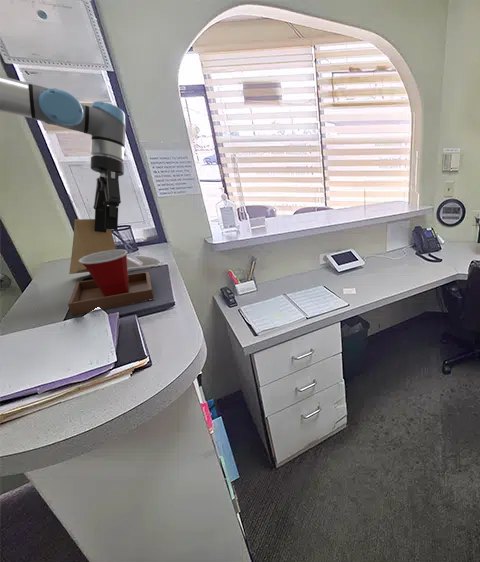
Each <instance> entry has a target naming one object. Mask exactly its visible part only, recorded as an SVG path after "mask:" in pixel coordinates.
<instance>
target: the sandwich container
mask: <svg viewBox="0 0 480 562" xmlns="http://www.w3.org/2000/svg"><path fill="white" fill-rule="evenodd" d="M73 226H74V227H73V239H72V248H71V256H70V257H71V258H70V264H69V266H70V267H69V273H68V275H74V274H83V273H84V274H85V273H89V271H88V270H87V269H86V267H85V266H84V265H83V264H81V263H80V262H79V259H80V258H82V257H84V256H87V255H90V254H93V253H97V252H102V251H108V250H117V248H116V243H115V240H114V236H113V232H112V230H111V229H106V233H105V232H96V231H94V228H95V218H80V219H78V218H77V219H76V218H75V219H74V223H73Z"/></svg>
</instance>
